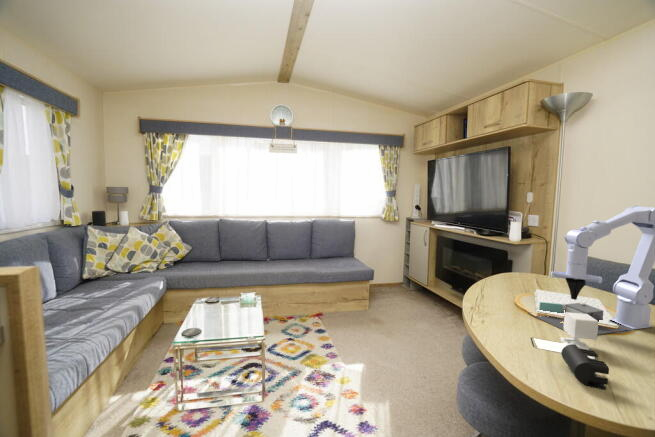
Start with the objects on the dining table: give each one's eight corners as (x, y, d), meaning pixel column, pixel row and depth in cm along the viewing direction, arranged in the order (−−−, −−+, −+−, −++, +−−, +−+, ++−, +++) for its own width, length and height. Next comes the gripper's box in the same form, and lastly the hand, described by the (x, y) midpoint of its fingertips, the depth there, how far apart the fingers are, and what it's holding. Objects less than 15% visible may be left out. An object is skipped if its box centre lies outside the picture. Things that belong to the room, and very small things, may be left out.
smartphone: (533, 349, 97) (597, 362, 90) (533, 347, 97) (598, 360, 90) (529, 338, 104) (589, 349, 97) (530, 336, 104) (589, 347, 97)
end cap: (559, 364, 89) (562, 342, 88) (590, 369, 86) (592, 346, 85) (573, 385, 79) (575, 360, 79) (607, 391, 77) (610, 366, 76)
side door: (564, 316, 120) (565, 304, 119) (539, 314, 122) (540, 302, 121) (562, 314, 121) (563, 303, 121) (537, 312, 124) (538, 300, 123)
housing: (580, 314, 122) (581, 301, 121) (605, 325, 113) (607, 310, 112) (563, 316, 120) (565, 302, 119) (588, 327, 111) (590, 312, 111)
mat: (574, 308, 129) (574, 307, 129) (631, 330, 110) (631, 329, 109) (527, 313, 123) (527, 312, 123) (578, 337, 104) (578, 336, 104)
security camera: (595, 352, 95) (598, 321, 94) (569, 349, 96) (572, 319, 95) (583, 342, 101) (586, 313, 100) (559, 339, 103) (561, 311, 101)
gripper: (599, 262, 112) (596, 298, 113) (550, 258, 119) (548, 292, 120) (605, 267, 106) (601, 305, 107) (553, 262, 113) (550, 297, 114)
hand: (573, 298), depth 113 cm, fingers closed
